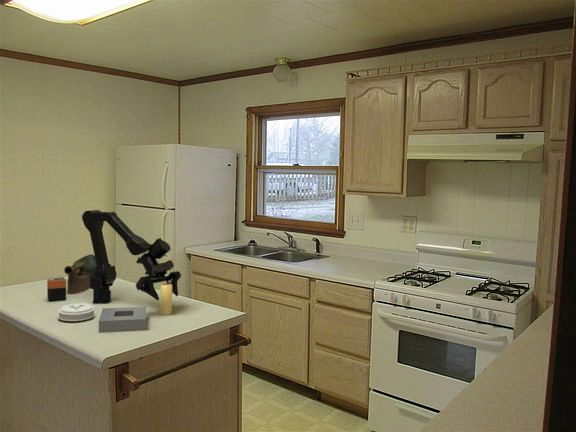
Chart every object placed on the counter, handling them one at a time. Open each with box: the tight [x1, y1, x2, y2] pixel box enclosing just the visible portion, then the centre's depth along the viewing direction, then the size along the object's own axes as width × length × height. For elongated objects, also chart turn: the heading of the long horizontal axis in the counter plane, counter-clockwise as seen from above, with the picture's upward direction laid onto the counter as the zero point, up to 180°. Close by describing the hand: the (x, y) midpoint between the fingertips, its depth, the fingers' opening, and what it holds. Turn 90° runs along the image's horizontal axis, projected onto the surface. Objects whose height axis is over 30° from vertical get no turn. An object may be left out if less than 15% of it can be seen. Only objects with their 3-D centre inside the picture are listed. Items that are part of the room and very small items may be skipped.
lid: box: [57, 302, 95, 322], centre depth 185 cm, size 13×13×5 cm
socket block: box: [98, 306, 148, 333], centre depth 180 cm, size 16×16×4 cm
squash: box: [71, 253, 96, 283], centre depth 239 cm, size 14×15×15 cm
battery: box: [46, 275, 67, 303], centre depth 208 cm, size 4×7×10 cm, turn 124°
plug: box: [159, 282, 173, 317], centre depth 194 cm, size 4×4×12 cm
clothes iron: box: [63, 262, 90, 295], centre depth 223 cm, size 8×16×13 cm, turn 0°
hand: (168, 297), depth 193 cm, fingers open, 9 cm apart
